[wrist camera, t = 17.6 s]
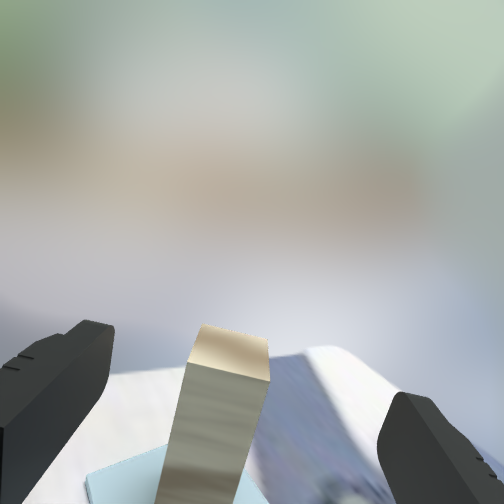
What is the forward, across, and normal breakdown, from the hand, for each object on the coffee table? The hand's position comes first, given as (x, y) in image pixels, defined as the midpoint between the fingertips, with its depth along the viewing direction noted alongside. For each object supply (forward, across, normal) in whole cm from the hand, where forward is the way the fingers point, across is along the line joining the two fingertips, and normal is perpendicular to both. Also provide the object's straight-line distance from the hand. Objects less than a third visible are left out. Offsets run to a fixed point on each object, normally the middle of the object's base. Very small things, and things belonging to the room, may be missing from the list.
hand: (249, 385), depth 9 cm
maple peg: (+11, +1, +20) cm, 22 cm away
